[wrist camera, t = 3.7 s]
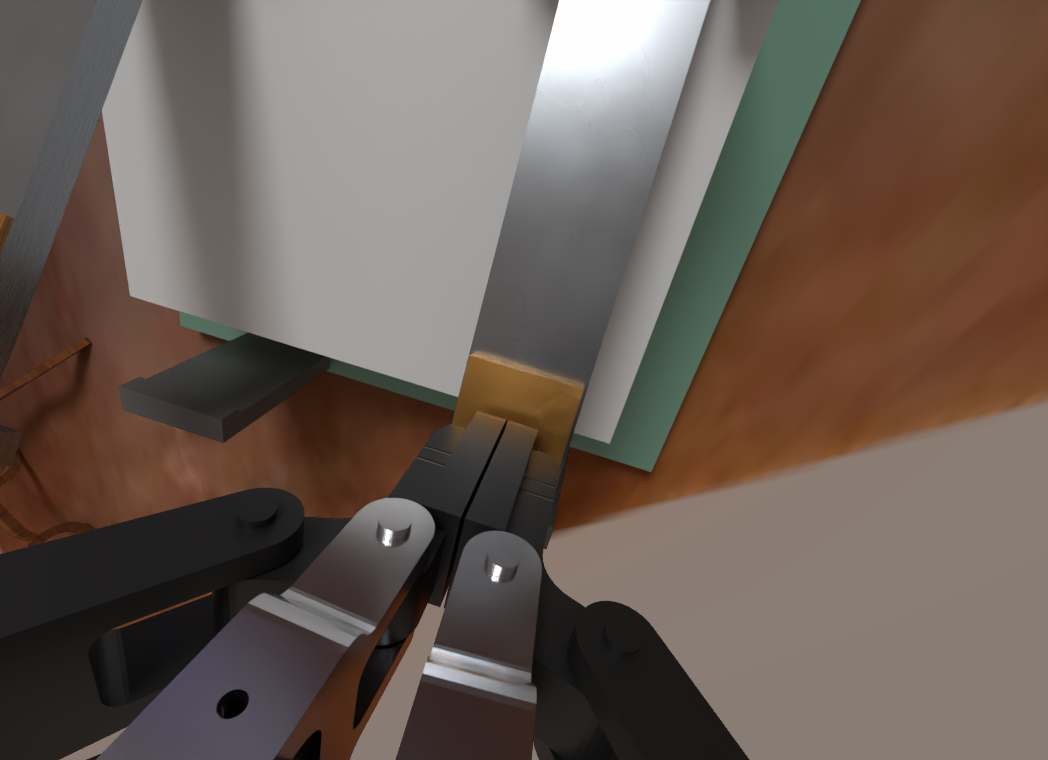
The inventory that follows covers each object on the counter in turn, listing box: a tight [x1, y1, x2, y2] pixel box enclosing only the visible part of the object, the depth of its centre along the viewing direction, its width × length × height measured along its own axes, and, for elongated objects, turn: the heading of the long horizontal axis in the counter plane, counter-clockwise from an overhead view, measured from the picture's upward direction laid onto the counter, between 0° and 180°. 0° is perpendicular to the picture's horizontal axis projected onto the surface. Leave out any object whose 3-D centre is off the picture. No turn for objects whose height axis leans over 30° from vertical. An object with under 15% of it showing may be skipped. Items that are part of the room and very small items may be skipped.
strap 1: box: [0, 0, 143, 467], centre depth 10 cm, size 16×3×2 cm, turn 166°
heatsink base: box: [102, 0, 861, 549], centre depth 16 cm, size 20×24×8 cm
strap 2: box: [451, 0, 710, 487], centre depth 12 cm, size 16×3×2 cm, turn 166°
